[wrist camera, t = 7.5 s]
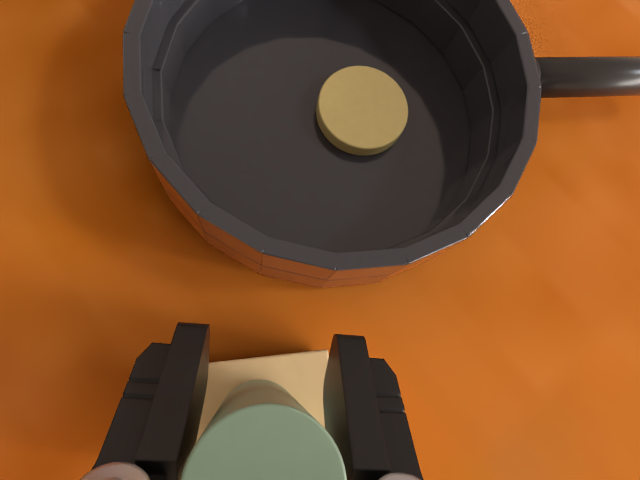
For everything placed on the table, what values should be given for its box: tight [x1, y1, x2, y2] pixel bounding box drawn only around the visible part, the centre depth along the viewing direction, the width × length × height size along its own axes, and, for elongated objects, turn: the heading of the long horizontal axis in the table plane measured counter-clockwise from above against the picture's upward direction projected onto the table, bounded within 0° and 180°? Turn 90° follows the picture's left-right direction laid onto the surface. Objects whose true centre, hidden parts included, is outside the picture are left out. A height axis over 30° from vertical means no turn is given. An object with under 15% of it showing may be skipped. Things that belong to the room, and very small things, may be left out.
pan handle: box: [535, 56, 640, 98], centre depth 20 cm, size 11×2×2 cm, turn 96°
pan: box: [123, 0, 542, 288], centre depth 19 cm, size 15×15×4 cm
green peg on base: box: [180, 350, 347, 480], centre depth 12 cm, size 5×4×11 cm
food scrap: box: [316, 66, 408, 156], centre depth 20 cm, size 4×4×1 cm
